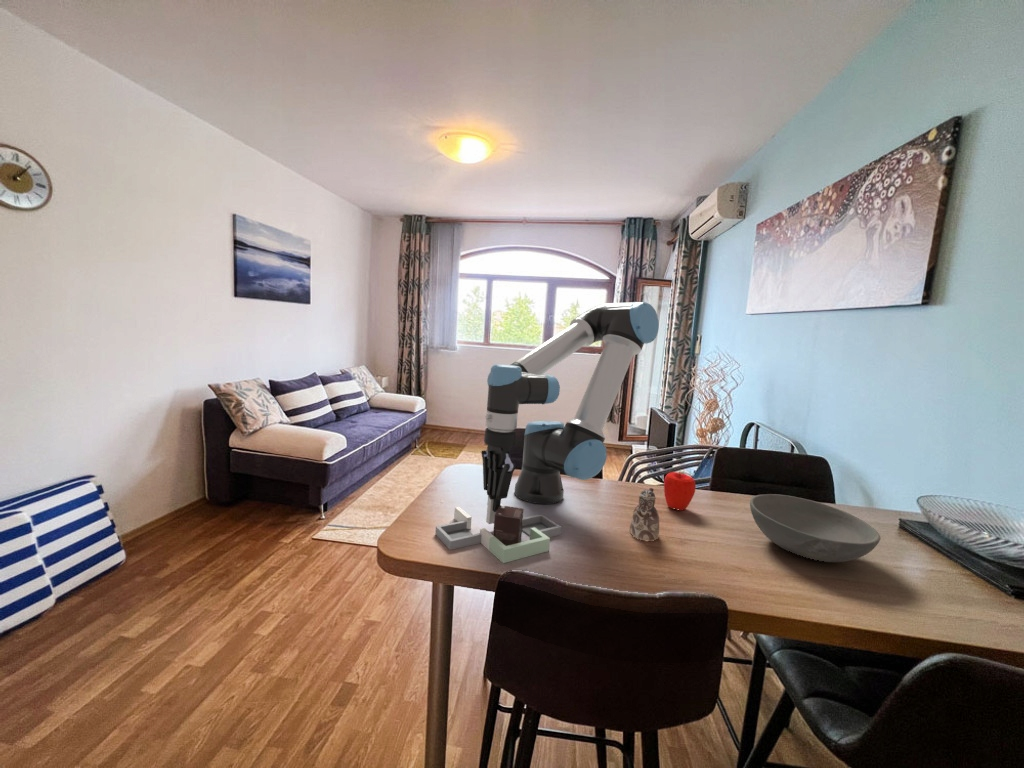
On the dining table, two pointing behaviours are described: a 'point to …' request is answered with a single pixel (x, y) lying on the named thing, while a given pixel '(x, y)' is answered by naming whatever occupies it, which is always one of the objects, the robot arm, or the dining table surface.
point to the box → (508, 525)
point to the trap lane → (461, 537)
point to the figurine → (645, 517)
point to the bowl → (812, 528)
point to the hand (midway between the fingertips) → (492, 521)
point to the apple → (678, 490)
